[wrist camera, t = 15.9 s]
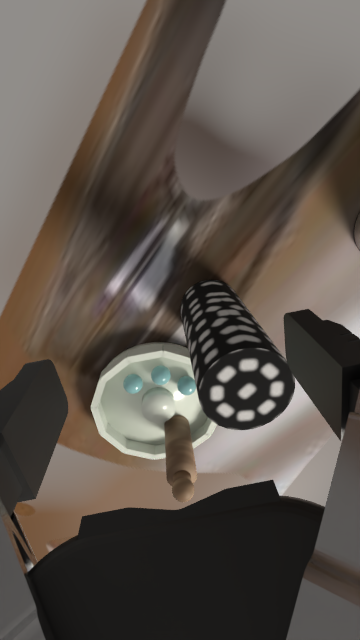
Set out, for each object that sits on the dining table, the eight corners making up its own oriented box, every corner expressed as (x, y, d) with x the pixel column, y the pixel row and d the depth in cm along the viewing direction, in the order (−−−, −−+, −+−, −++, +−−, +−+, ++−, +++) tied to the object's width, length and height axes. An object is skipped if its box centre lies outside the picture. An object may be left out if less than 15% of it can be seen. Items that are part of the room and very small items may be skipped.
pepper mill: (187, 412, 51) (197, 484, 39) (191, 432, 53) (202, 507, 41) (162, 417, 51) (164, 491, 39) (166, 437, 53) (171, 513, 41)
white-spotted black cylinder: (209, 267, 44) (250, 328, 25) (250, 305, 46) (314, 386, 28) (168, 310, 46) (177, 396, 27) (209, 345, 48) (243, 444, 30)
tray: (209, 331, 48) (214, 343, 44) (224, 431, 55) (229, 449, 51) (80, 355, 47) (74, 369, 44) (113, 452, 55) (110, 472, 51)
